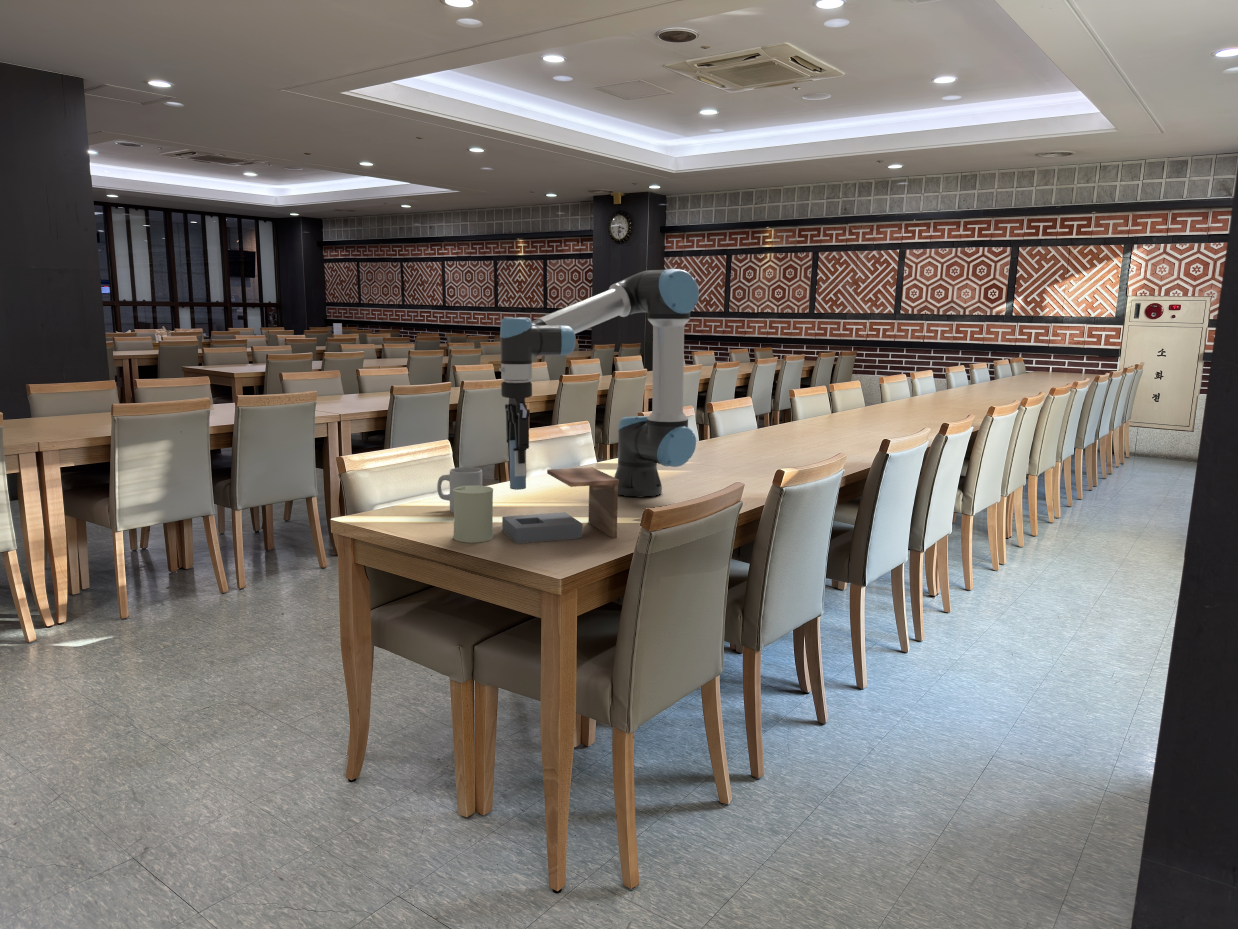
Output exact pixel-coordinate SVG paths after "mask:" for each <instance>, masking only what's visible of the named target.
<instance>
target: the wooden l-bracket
mask: <svg viewBox="0 0 1238 929" xmlns="http://www.w3.org/2000/svg"><path fill="white" fill-rule="evenodd" d="M546 471H547V472H546V474H548V476H551V477H552V478H554V479H556V480H558V481H560V482H562V483H564V484H565V485H566V486H569V487H570V488H572V487H573V488H574V487H575V488H576V487H588V523H590V524H591V525H592V526H594V527H595V528H597V529H598V530H600V532H603V533H604V534H606V535H608V536H609V537H611V538H612V539H614V538H617V536H618V535H617V534H618V507H619V506H618V504H619V502H618V501H619V500H618V499H619V495H618V484H619V480H618V479H616V478H614V476H612V475H609V474H608V473H606V472H603V471H602V470H598V469H597V468H595V467H573V468H553V469H552V468H551V469H547V470H546Z"/></svg>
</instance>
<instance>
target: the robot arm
mask: <svg viewBox="0 0 1238 929" xmlns="http://www.w3.org/2000/svg"><path fill="white" fill-rule="evenodd" d="M699 299H700V290H699V286H698V283H697V281H696V279H695V278H694V277H693V275H691V273H690V272H688V271H686V270H683V269H679V268H667V269H651V270H650V269H648V270H644V271H641V272H640V271H639V272H638V273H636V274H634V275H631V276H628V277H626V278H624V279H622V280H620V281H617V282H615V283H613V284H611V285H610V286H609V288H608V290H604V291H603V292H600V293H598V294H595V295H593V296H591V297H588V298H585V299H583V300H581V301H578V302H576V303H573V304H571V305H568V306H566V307H563V308H561V309H558V310H555V311H553V312H551V313H548V314H547V315H544V316H542V317H538V318H537V319H534V320H532V319H531V318H530V317H504V318H502V319H501V322H500V331H499V332H500V333H499V340H500V366H501V367H499V369H498V370H499V372H501V374H500V376H501V380H502V382H501V384H500V385H501V386H500V387H501V388H500V389H501V390H500V392H501V396H502V397H503V398H507V399H508V403H507V404H505V405H504V409H505V423H506V425H505V430H506V443H507V444H509V441H510V440H515V442H516V448H514V449H513V451H515V476H516V477H517V476H526V477H527V449H529V448H530V413H531V411H530V409H528V406H527V404H526V400H525V399H526V398H531V397H532V396H533V384H532V381H531V380H533V357H538V356H539V357H542V356H543V357H544V356H545V357H547V356H548V357H550V356H553V357H554V356H558V357H562V356H569V355H571V354H573V352H574V350H575V348H576V342H577V341H576V340H577V339H576V334H578V333H580V332H583V331H585V330H588V329H590V328H592V327H594V326H596V325H599V324H602V323H604V322H606V321H609V320H611V319H613V318H616V317H618V316H619V317H622V318H625V317H628V316H629V315H633V314H638V313H639V314H640V313H647V321H648V322H649V323H650V324H651V325H652V335H653V336H652V339H653V340H652V397H651V398H652V404H651V405H652V406H651V407H652V408H651V409H652V411H651V413H650V414H649V415H644V416H643V415H640V416H624V417H622V418H620V420H619V424H618V429H617V432H618V445H617V446H618V448H617V450H618V451H617V468H616V471H615V474H614V476H613V477H614V478H616V479H618V480H619V484H618V494H619V495H618V496H620V495H624V496H623V497H626V496H653V497H656V496H655V495H658V496H660V495H661V493H662V492H663V486H662V482H661V479H660V475H659V470H658V465H661V466H664V467H672V468H678V467H682V466H684V465H686V463H688V462H689V459H691V458H692V457H693V456H694V453H695V451H696V448H697V447H696V446H697V438H696V435H695V433H694V432H693V430H692V429H690V428H689V418H688V416H687V415H686V414H685V413H684V371H685V370H684V367H685V366H684V364H685V363H684V362H685V361H684V360H685V359H684V356H685V355H684V354H685V353H684V352H685V326H686V324H687V323H689V321H690V320H691V312H692V311H693V310H694V309H695V308H696V306H697V305H698V303H699ZM508 447H509V446H508ZM509 451H510V447H509ZM659 494H660V495H659ZM662 494H663V493H662Z"/></svg>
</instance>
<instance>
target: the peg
mask: <svg viewBox="0 0 1238 929" xmlns="http://www.w3.org/2000/svg"><path fill="white" fill-rule="evenodd" d="M508 447H510V450H509V489H510V490H515V491H516V490H520V491H521V490H524V489H526V488H527V475H526V476H517V477H516V476H515V451H513V449H514V448H516V442H515V440H510V441H509V443H508Z"/></svg>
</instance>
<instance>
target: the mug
mask: <svg viewBox="0 0 1238 929" xmlns="http://www.w3.org/2000/svg"><path fill="white" fill-rule="evenodd" d="M444 481H447V482H449V493H448V494H447V493H446V494H445V493H444V492H443V490H442V484H443V482H444ZM436 485H437V487H436V489H437V495H438V496H439V498H440V499H441V500H444V501H448V502H449V511H450V513H452V514H454V494H453V489H454V488H456V487H460V486H468V485H480V486H483V470H482V469H481V468H479V467H471V466H469V467H468V466H465V467H464V466H463V467H462V466H461V467H454V468H451V469H450V470H449V473H447V474H442V475H441V476H440V477H438V480H437V484H436Z"/></svg>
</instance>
